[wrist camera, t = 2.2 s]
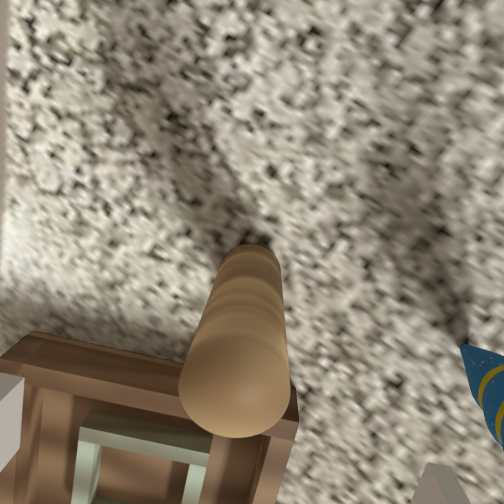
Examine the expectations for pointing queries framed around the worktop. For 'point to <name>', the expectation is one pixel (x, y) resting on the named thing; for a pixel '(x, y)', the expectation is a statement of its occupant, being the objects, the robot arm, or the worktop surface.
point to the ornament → (487, 386)
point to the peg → (239, 349)
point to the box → (127, 434)
